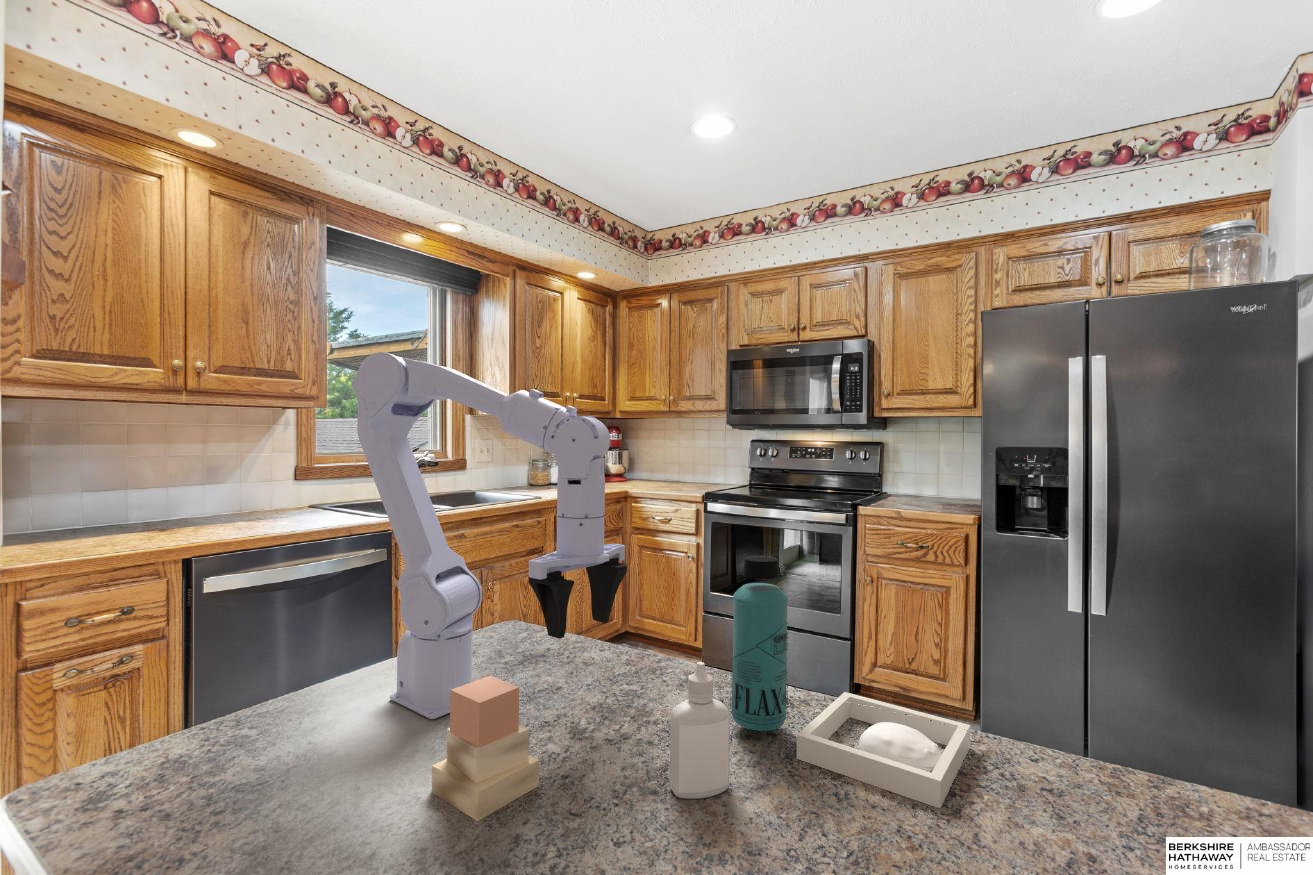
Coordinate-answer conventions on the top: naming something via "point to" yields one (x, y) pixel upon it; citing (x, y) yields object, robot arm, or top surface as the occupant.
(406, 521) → the robot arm
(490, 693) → the terracotta block
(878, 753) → the white rounded lump
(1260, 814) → the top surface
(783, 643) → the beverage bottle
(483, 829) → the top surface
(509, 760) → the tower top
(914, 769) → the garlic dish
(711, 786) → the eye dropper bottle
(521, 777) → the tower base
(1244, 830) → the top surface
